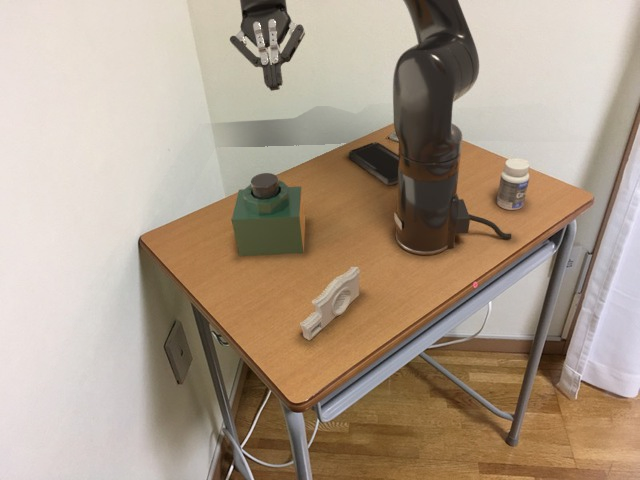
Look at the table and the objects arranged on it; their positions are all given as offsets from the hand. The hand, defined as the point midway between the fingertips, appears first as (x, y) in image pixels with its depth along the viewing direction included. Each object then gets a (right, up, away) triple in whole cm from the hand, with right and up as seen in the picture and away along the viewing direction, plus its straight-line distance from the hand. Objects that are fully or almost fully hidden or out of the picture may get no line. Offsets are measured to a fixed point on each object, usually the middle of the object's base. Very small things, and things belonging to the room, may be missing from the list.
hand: (274, 88), depth 86 cm
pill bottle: (+42, -19, +9) cm, 47 cm away
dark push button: (-1, -17, -1) cm, 17 cm away
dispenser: (-1, -25, +5) cm, 25 cm away
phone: (+21, -10, +22) cm, 32 cm away
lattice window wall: (+9, -36, -10) cm, 39 cm away
